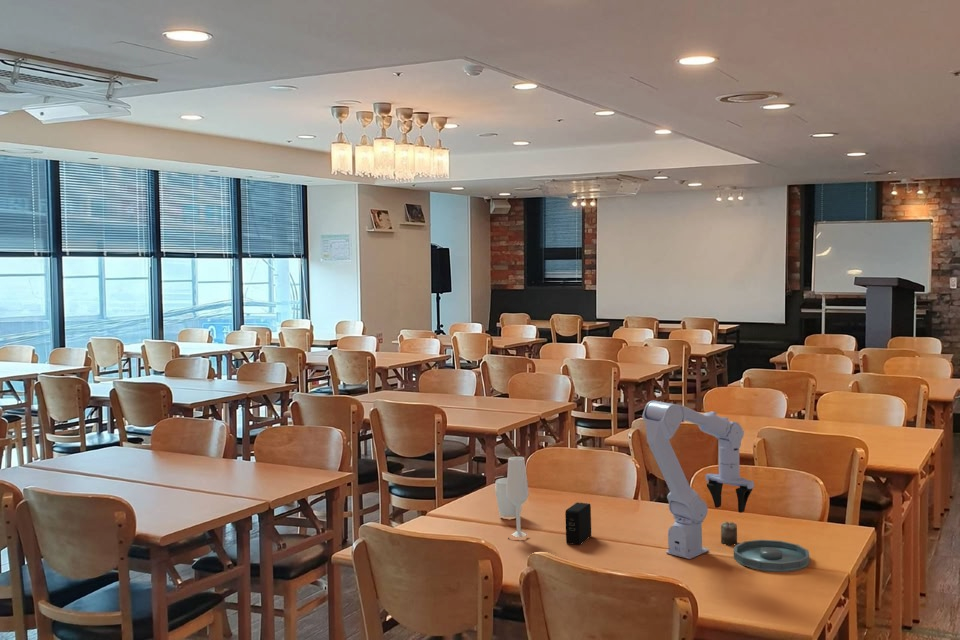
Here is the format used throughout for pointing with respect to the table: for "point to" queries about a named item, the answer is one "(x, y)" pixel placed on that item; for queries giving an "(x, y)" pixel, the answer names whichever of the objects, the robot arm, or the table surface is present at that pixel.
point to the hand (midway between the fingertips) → (729, 509)
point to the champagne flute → (517, 487)
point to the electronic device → (578, 523)
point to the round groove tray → (785, 558)
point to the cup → (504, 499)
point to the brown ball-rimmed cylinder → (728, 533)
